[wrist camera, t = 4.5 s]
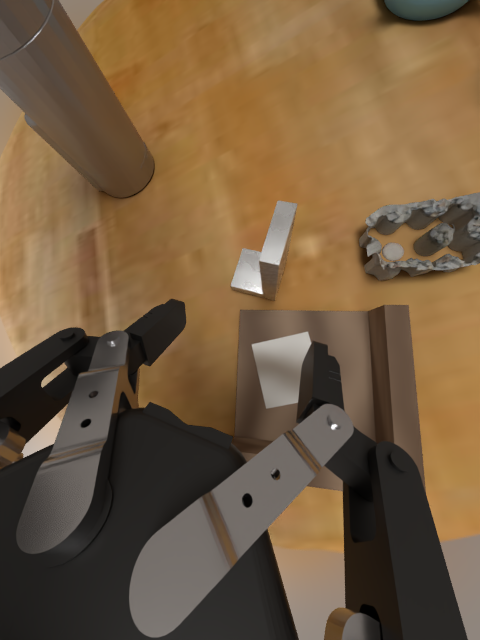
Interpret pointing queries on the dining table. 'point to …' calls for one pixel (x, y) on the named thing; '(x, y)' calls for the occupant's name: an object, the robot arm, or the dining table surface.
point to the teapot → (423, 8)
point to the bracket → (267, 257)
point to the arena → (356, 374)
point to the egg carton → (425, 235)
